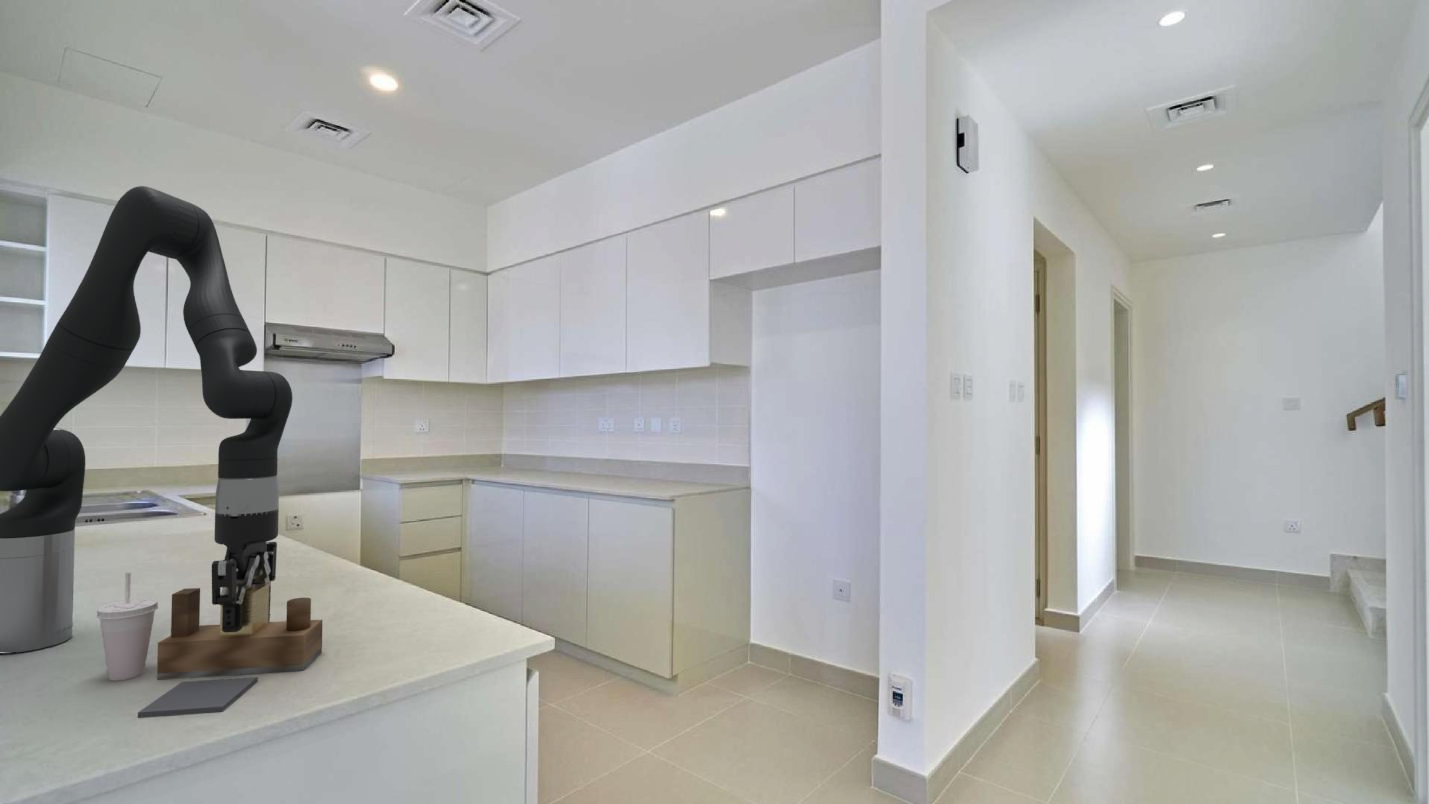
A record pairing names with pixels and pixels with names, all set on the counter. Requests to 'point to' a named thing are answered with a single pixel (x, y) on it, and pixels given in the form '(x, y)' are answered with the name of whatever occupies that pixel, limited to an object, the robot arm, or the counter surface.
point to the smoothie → (126, 634)
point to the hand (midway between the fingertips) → (245, 622)
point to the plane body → (236, 643)
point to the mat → (199, 697)
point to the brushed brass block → (252, 611)
